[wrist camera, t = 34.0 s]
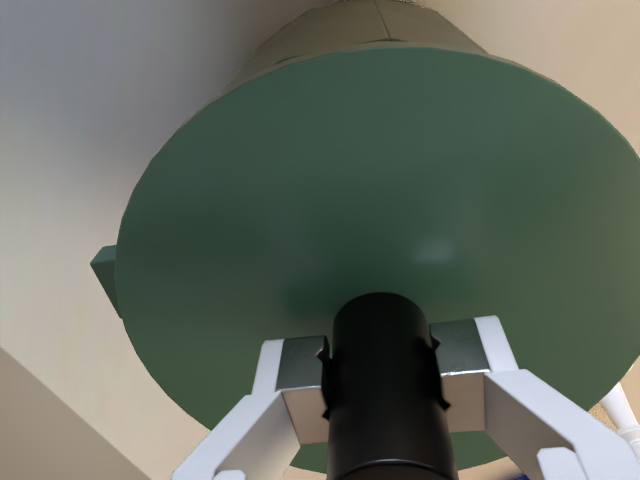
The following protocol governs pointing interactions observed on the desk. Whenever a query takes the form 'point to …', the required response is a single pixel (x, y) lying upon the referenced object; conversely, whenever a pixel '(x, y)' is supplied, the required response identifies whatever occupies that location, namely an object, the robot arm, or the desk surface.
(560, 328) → the pot lid
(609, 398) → the chess piece
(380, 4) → the pot
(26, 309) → the desk surface
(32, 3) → the desk surface
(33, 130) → the desk surface
